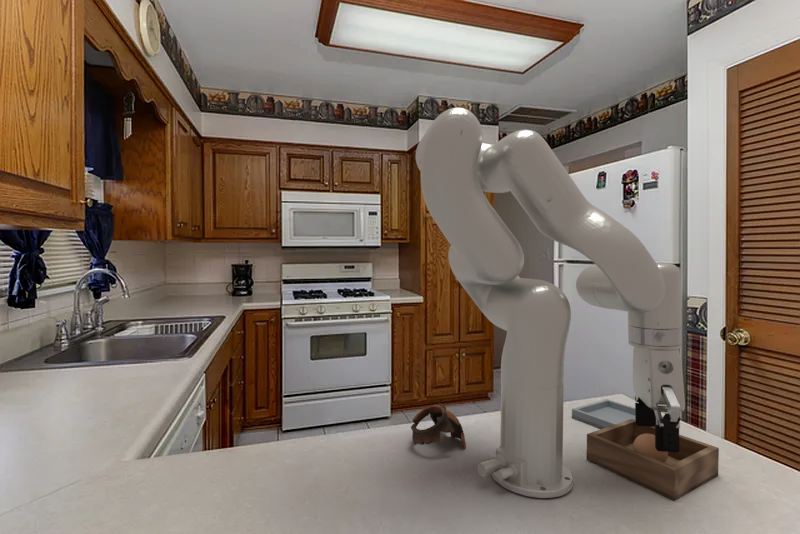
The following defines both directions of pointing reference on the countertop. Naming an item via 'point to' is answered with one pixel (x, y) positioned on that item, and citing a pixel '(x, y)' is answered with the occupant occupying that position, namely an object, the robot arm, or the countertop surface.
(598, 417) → the tray
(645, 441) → the ball
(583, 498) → the countertop surface
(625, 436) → the bin
